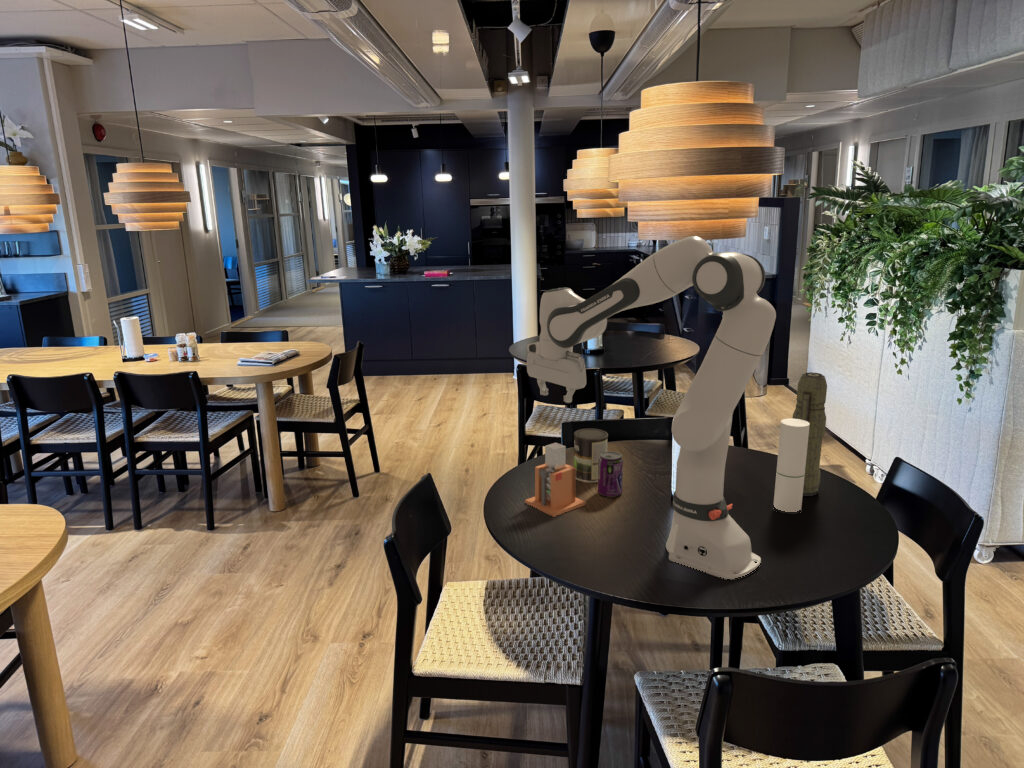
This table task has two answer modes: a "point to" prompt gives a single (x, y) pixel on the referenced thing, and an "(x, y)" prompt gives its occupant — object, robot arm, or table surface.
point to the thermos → (812, 423)
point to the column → (554, 462)
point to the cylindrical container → (791, 464)
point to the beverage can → (610, 474)
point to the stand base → (555, 491)
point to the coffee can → (588, 453)
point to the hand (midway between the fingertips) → (555, 398)
